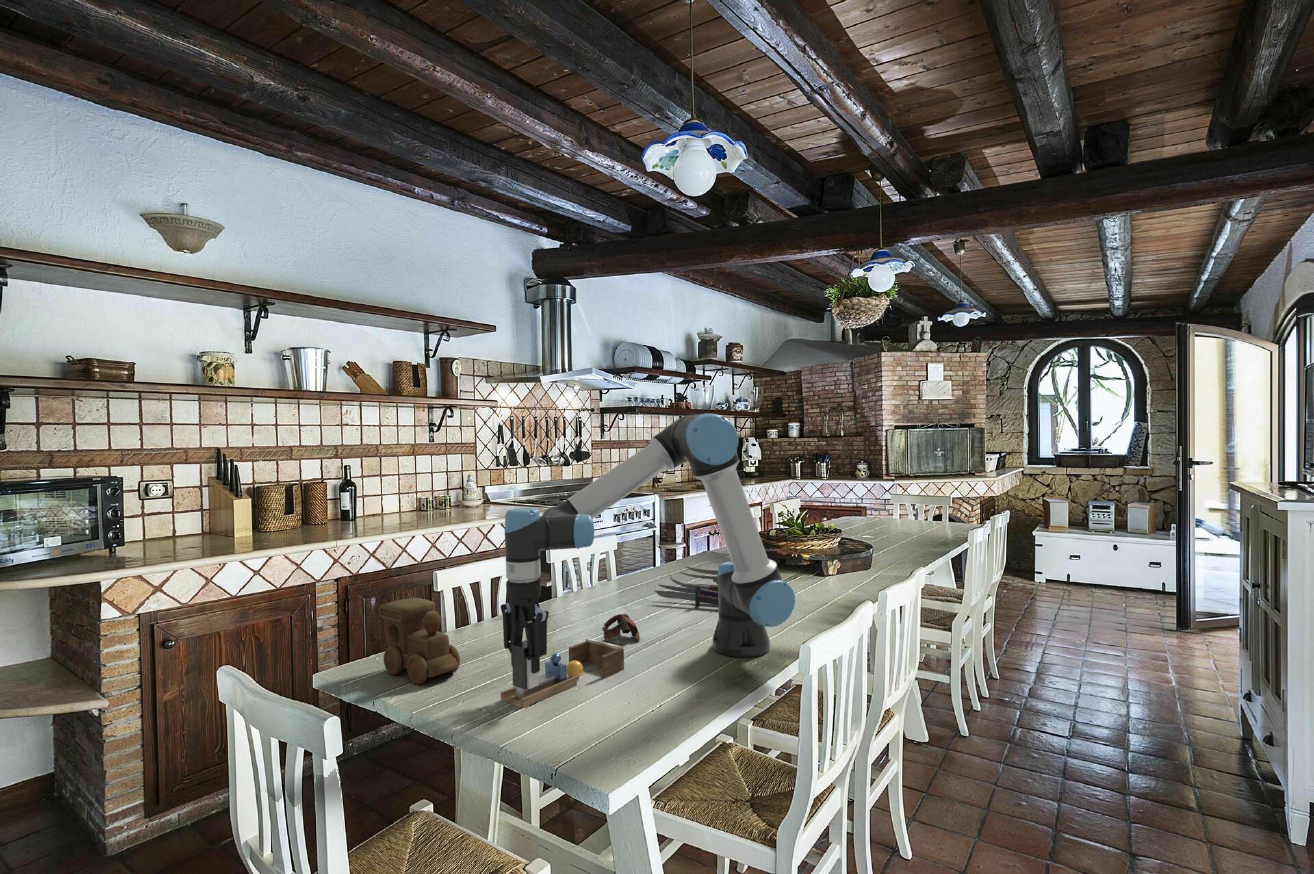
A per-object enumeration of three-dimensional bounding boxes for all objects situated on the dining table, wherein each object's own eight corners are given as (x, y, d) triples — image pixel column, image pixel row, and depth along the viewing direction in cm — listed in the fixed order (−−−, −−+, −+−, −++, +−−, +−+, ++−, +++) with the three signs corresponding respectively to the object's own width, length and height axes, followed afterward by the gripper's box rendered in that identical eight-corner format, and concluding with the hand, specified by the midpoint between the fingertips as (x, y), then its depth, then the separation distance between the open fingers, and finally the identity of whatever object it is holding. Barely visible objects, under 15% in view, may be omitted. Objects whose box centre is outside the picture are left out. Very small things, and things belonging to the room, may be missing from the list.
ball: (586, 676, 164) (586, 660, 164) (574, 682, 161) (574, 665, 161) (574, 673, 167) (574, 656, 167) (562, 678, 164) (562, 661, 164)
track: (576, 684, 159) (576, 677, 159) (523, 708, 147) (523, 699, 147) (554, 678, 164) (554, 670, 164) (500, 700, 151) (500, 691, 151)
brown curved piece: (641, 647, 187) (626, 623, 185) (611, 661, 188) (596, 637, 186) (644, 623, 198) (630, 601, 196) (616, 637, 200) (601, 614, 198)
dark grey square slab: (567, 684, 159) (566, 634, 158) (526, 701, 149) (525, 648, 149) (552, 679, 162) (551, 630, 162) (511, 696, 152) (510, 644, 152)
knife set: (683, 577, 262) (684, 557, 262) (768, 588, 249) (769, 567, 249) (646, 602, 230) (647, 579, 229) (742, 616, 217) (743, 592, 217)
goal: (624, 669, 169) (623, 646, 169) (604, 677, 163) (604, 654, 163) (588, 659, 176) (588, 637, 176) (569, 667, 171) (568, 645, 171)
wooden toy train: (377, 671, 171) (375, 605, 170) (418, 658, 180) (416, 595, 179) (423, 690, 158) (421, 618, 158) (465, 675, 167) (463, 607, 167)
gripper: (485, 577, 154) (487, 681, 155) (536, 587, 143) (539, 698, 144) (511, 571, 160) (513, 671, 160) (562, 580, 149) (565, 687, 150)
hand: (525, 684), depth 152 cm, fingers closed on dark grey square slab, 4 cm apart
